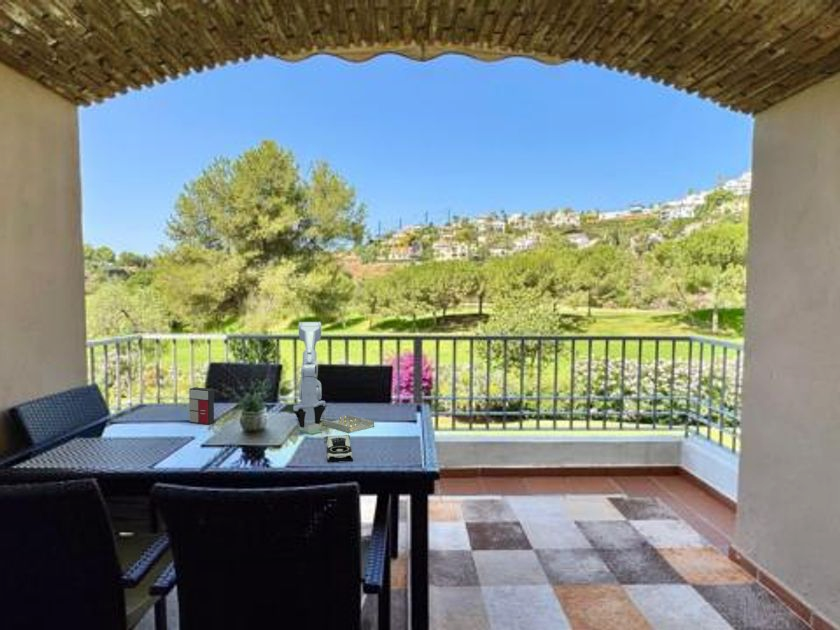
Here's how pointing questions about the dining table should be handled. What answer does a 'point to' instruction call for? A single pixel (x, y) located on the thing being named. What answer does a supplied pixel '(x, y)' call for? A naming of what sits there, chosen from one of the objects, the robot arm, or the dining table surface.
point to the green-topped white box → (310, 428)
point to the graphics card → (338, 448)
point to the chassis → (349, 423)
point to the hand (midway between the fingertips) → (309, 425)
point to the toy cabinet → (201, 405)
